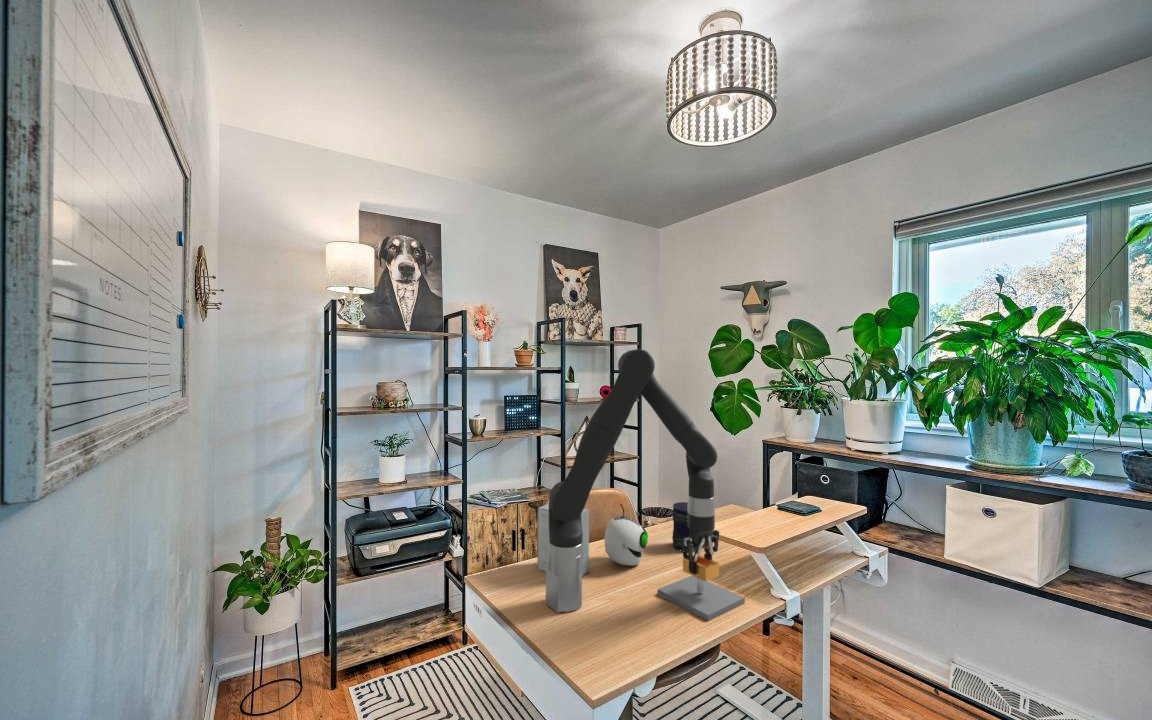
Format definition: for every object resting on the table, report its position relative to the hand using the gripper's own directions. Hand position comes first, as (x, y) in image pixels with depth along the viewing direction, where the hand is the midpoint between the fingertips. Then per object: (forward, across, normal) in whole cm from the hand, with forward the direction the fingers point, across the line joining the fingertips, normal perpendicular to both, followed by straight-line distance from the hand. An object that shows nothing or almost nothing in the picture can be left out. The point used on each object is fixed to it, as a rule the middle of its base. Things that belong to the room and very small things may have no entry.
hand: (700, 570), depth 139 cm
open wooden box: (+1, 0, 0) cm, 1 cm away
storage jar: (+8, +27, +28) cm, 40 cm away
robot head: (+8, -1, +30) cm, 31 cm away
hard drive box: (+8, -21, +38) cm, 44 cm away
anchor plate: (+8, 0, 0) cm, 8 cm away
